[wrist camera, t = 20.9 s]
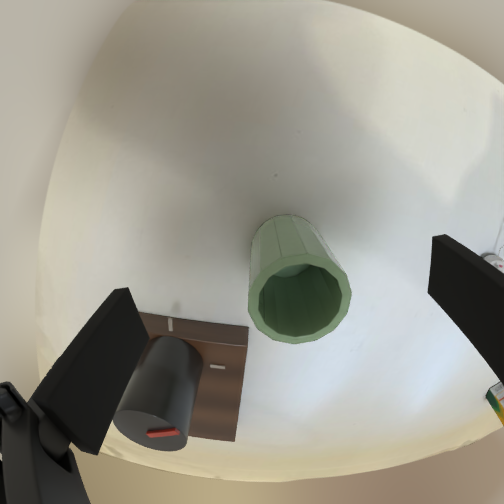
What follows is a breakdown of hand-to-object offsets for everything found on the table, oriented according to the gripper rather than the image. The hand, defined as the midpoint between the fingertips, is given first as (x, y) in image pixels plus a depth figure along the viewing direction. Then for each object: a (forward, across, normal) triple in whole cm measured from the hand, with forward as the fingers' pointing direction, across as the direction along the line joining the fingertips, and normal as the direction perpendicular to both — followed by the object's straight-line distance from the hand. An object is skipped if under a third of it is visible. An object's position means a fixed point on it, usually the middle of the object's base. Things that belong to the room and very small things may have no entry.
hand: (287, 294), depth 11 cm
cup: (+13, +1, -3) cm, 13 cm away
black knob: (+10, -12, -12) cm, 19 cm away
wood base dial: (+13, -13, -16) cm, 24 cm away
